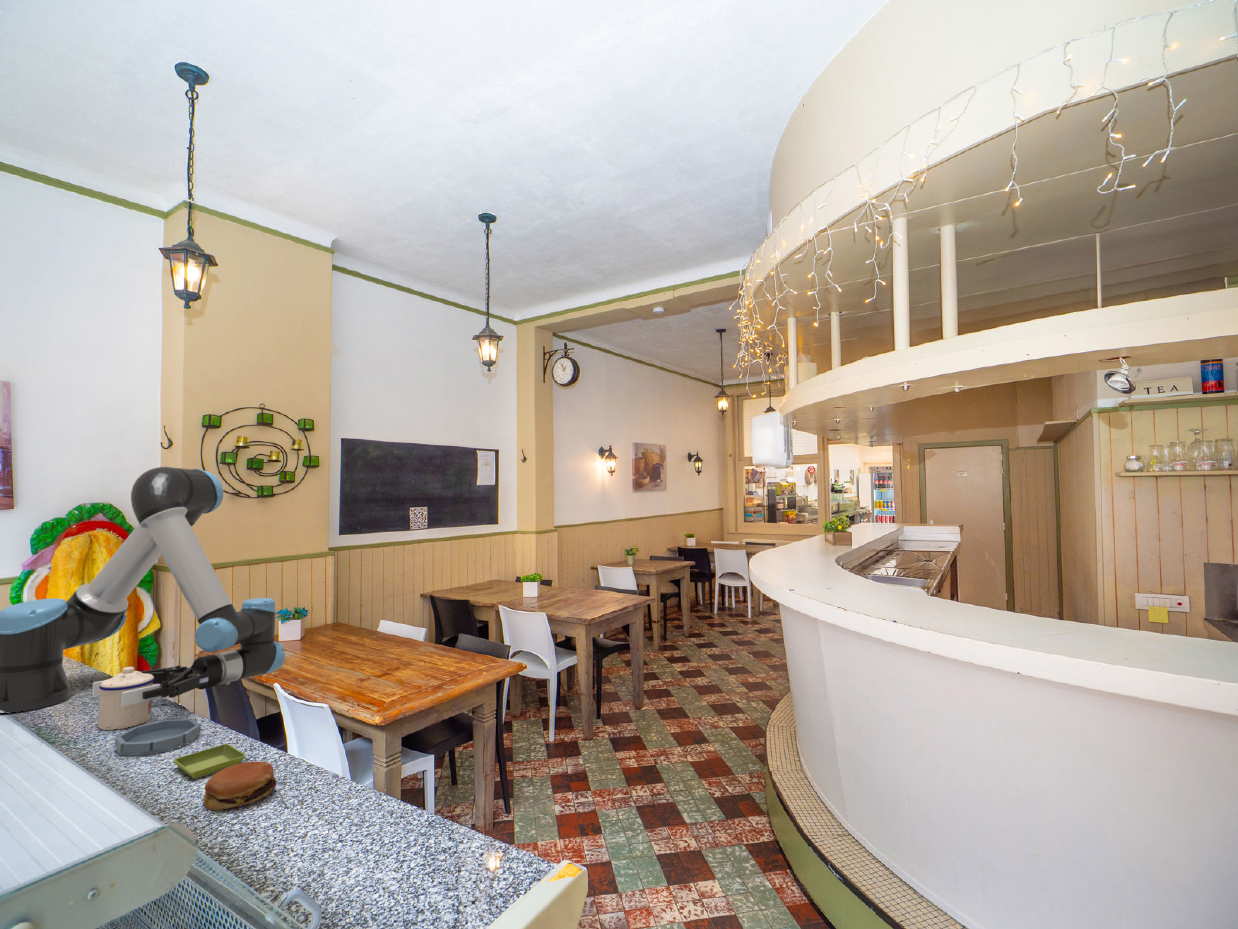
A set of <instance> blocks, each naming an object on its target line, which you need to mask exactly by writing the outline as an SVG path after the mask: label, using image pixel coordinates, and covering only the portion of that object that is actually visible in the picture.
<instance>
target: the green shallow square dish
mask: <svg viewBox="0 0 1238 929" xmlns="http://www.w3.org/2000/svg"><path fill="white" fill-rule="evenodd" d="M246 756H247V754H245V753H244V752H243V751H241V750H238V749H237V748H236V747H234V746H232V745H230V744H229V743H224V744H220V745H217V746H213V747H210V748H207V749H204V750H200V751H196V752H193V753H190V754H187V755H183V756H181V757H180V756H179V757H176V758H174V759H172V761H173V762H174V764H175V765H176V766H177V767H178V768H179V769H181V770H182V771H183V772H184V773H186V774H187V775H188V776H190V777H191V778H192V779H194V780H195V779H196V778H197V779H199V777H200V778H203V777H205V776H208V775H212V774H216V773H217V772H219V771H221V770H223V769H225V768H227V767H230V766H233V765H236V764H241V763H242V762H243V761H244V759H245V758H246ZM197 779H196V780H197Z"/></svg>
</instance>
